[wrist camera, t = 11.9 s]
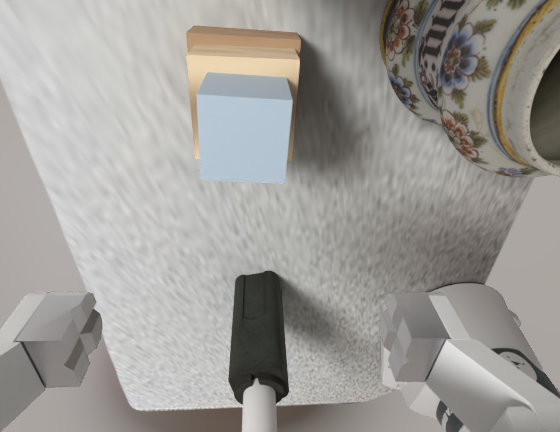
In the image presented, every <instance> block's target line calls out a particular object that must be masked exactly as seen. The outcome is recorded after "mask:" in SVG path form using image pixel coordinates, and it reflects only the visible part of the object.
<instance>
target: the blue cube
mask: <svg viewBox="0 0 560 432" xmlns="http://www.w3.org/2000/svg"><path fill="white" fill-rule="evenodd" d="M196 97H197V117H198V138H199V158H200V179H201V180H207V181H230V182H253V183H277V184H285V176H286V166H287V155H288V145H289V134H290V124H291V114H292V103H293V99H292V96H291V92H290V89H289V85H288V82H287V78H286V77H272V76H257V75H243V74H228V73H213V72H207V74H206V76H205V78H204V80H203V82H202V84H201V86H200V88H199V90H198V92H197V94H196Z"/></svg>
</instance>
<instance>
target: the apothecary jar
mask: <svg viewBox="0 0 560 432" xmlns="http://www.w3.org/2000/svg"><path fill="white" fill-rule="evenodd" d="M380 50H381V54H382V58H383V61H384V63H385V65H386V67H387V71H388V76H389V79H390V82H391V85H392V87H393V89H394V91H395V93H396V95H397V96H398V98H399V99H400V101H401V102H402V103H403V104H404V105H405V106H406V107H407V108H408V109H409V110H410V111H411V112H413V113H414V114H416V115H417V116H419V117H421V118H422V119H425V120H427V121H430V122H433V123H437V124H441V125H443V127H444V129H445V131H446V134H447V135H448V137H449V139H450V141H451V142H452V144H453V145H454V146H455V148H456V149H457V150H458V151H459V152H460V153H461V154H462V155H463V156H464V157H465V158H466V159H467V160H469V161H470V162H471V163H473V164H475V165H476V166H478V167H480V168H482V169H484V170H487V171H489V172H492V173H496V174H499V175H504V176H511V177H539V176H546V175H556V176H560V0H389V2H388V4H387V6H386V9H385V12H384V15H383V19H382V23H381V28H380Z"/></svg>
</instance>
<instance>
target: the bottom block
mask: <svg viewBox="0 0 560 432" xmlns="http://www.w3.org/2000/svg"><path fill="white" fill-rule="evenodd" d="M186 34H187V48H188V52H189V51H190V50H191V49H192V47H193V46H194V45H195V44H207V45H228V46H249V47H271V48H292V49H295V51H296V53H297V55H298V57H299V59H300V48H301V39H300V37H299V36H298V34H297V33H295V32H280V31H265V30H250V29H235V28H220V27H205V26H193V27H192V28H191V29H190V30H189V31H187V32H186Z"/></svg>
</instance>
